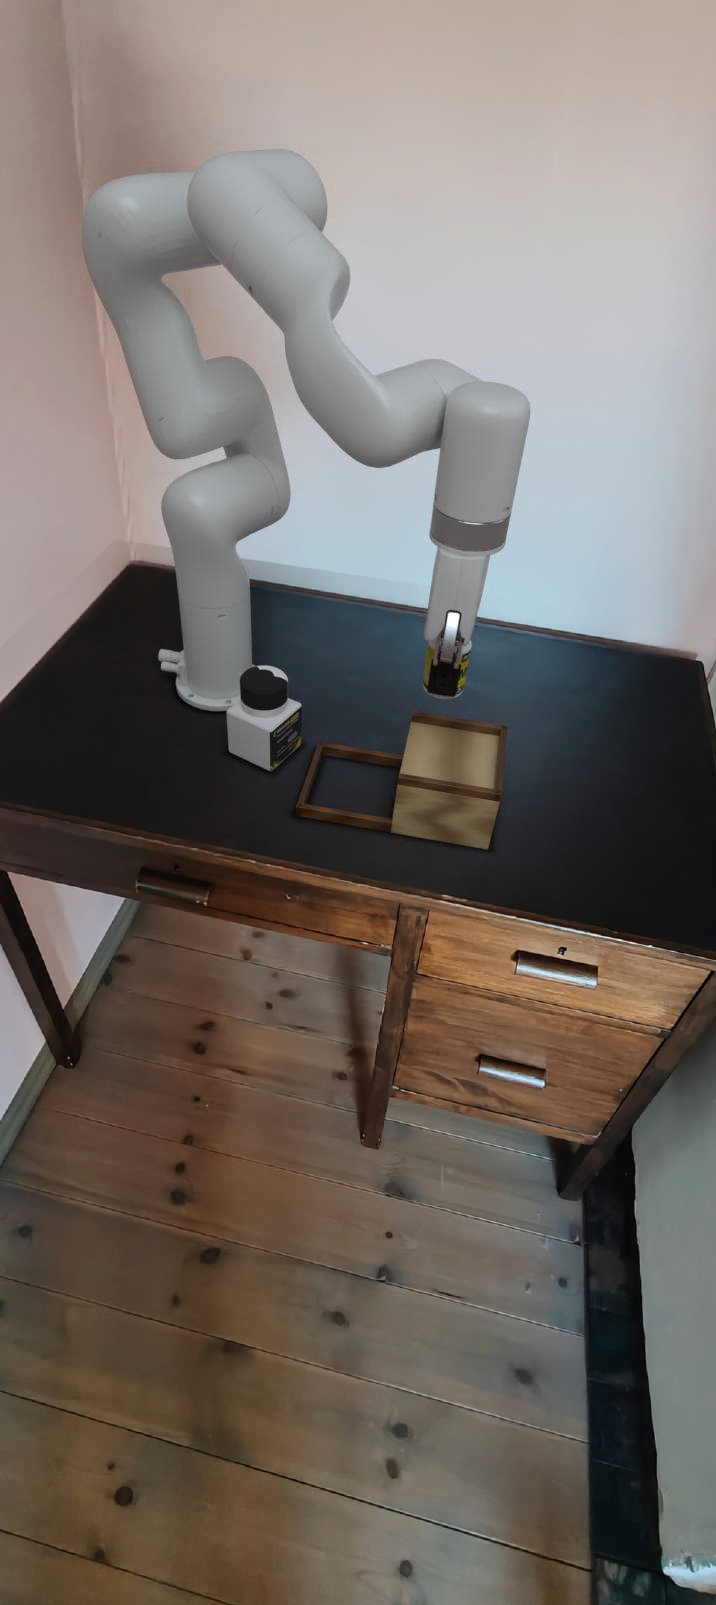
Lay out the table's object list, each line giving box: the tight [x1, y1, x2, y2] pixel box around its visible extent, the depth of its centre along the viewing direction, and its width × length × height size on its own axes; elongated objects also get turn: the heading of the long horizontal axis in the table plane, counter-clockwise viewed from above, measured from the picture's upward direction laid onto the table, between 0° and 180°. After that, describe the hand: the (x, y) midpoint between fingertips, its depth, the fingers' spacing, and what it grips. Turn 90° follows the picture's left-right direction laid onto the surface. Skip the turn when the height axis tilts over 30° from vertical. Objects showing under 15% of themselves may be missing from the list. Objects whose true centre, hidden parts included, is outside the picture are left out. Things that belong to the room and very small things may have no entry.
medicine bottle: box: [226, 664, 303, 772], centre depth 108 cm, size 7×7×12 cm
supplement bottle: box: [422, 632, 473, 700], centre depth 91 cm, size 5×5×8 cm
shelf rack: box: [295, 710, 508, 850], centre depth 103 cm, size 24×13×9 cm, turn 79°
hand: (444, 677), depth 93 cm, fingers closed on supplement bottle, 4 cm apart
